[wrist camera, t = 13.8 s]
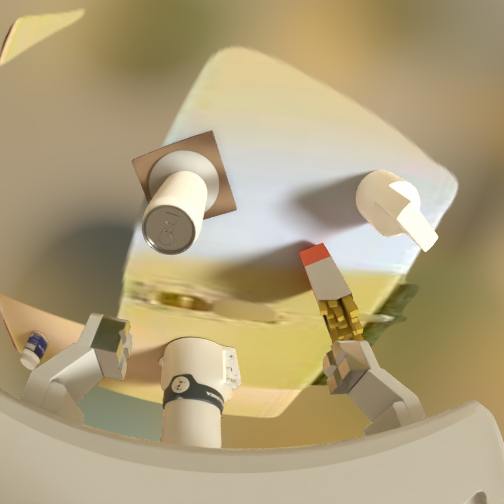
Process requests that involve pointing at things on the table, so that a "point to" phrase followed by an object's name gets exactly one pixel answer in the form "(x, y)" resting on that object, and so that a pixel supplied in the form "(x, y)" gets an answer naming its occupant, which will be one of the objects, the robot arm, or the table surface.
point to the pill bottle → (34, 350)
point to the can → (175, 213)
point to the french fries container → (332, 295)
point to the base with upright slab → (393, 208)
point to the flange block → (189, 159)
